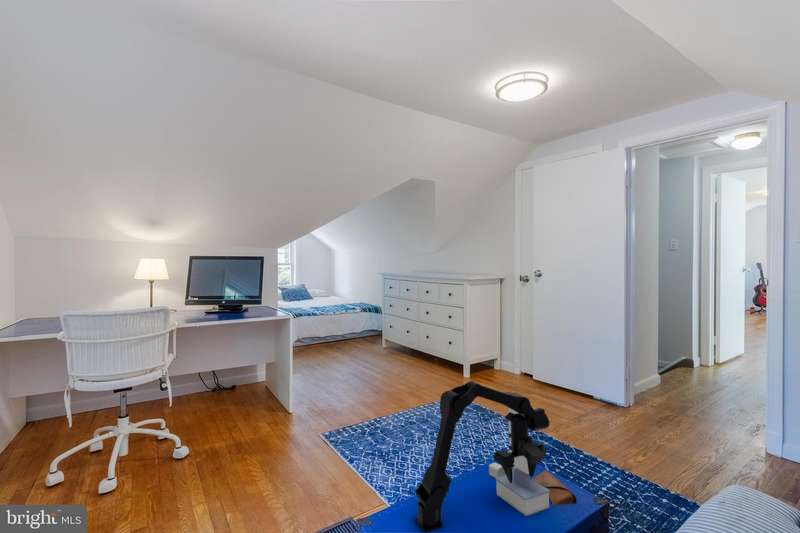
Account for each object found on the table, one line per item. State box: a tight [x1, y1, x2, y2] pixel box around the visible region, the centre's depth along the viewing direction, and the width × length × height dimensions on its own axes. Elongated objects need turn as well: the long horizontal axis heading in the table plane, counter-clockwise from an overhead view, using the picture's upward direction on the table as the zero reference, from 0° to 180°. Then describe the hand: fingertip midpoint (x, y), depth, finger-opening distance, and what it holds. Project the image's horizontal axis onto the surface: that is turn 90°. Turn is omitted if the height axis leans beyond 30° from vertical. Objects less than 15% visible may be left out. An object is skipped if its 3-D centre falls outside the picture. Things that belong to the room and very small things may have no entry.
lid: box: [494, 468, 550, 500], centre depth 129 cm, size 10×14×6 cm
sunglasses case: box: [531, 469, 577, 507], centre depth 135 cm, size 18×7×7 cm
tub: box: [495, 480, 550, 517], centre depth 129 cm, size 10×14×5 cm
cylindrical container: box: [507, 407, 530, 475], centre depth 150 cm, size 7×7×25 cm
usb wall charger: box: [488, 461, 506, 479], centre depth 145 cm, size 4×7×4 cm, turn 36°
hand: (521, 479), depth 129 cm, fingers open, 9 cm apart
